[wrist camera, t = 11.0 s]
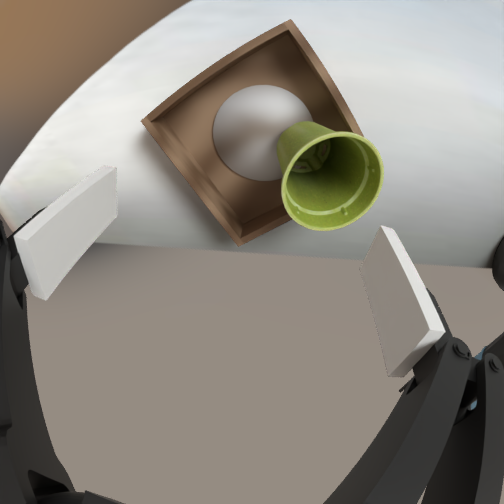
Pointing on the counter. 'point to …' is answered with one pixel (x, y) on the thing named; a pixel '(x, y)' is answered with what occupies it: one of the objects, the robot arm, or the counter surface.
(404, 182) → the counter surface
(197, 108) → the brown wooden square tray
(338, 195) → the plant pot
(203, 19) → the counter surface
